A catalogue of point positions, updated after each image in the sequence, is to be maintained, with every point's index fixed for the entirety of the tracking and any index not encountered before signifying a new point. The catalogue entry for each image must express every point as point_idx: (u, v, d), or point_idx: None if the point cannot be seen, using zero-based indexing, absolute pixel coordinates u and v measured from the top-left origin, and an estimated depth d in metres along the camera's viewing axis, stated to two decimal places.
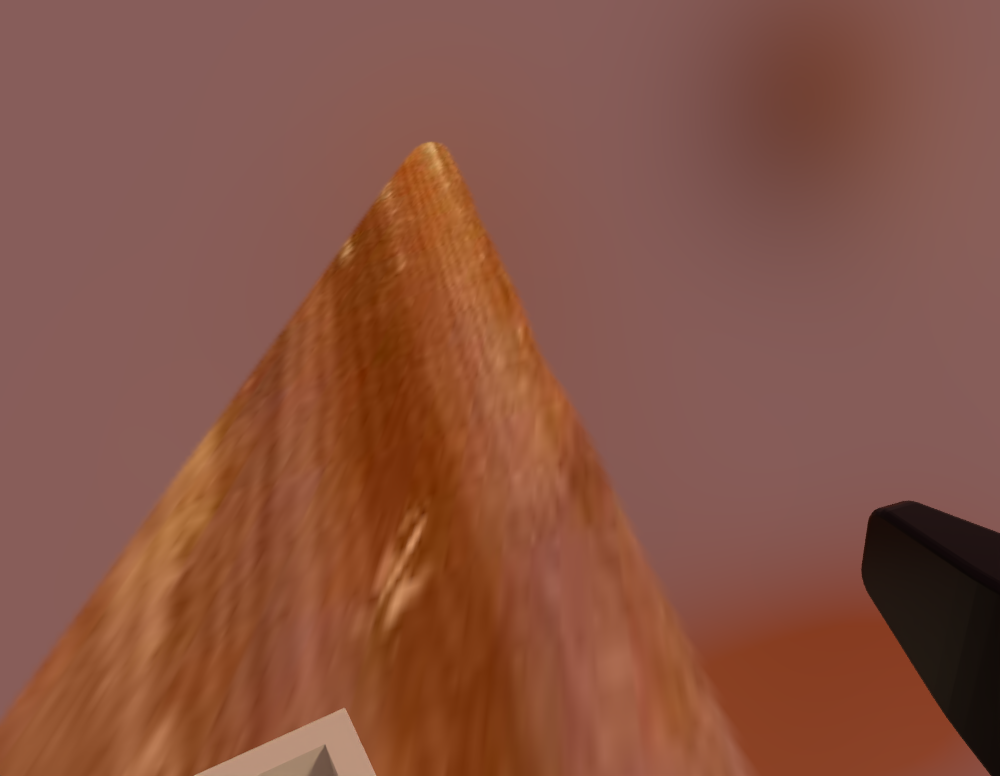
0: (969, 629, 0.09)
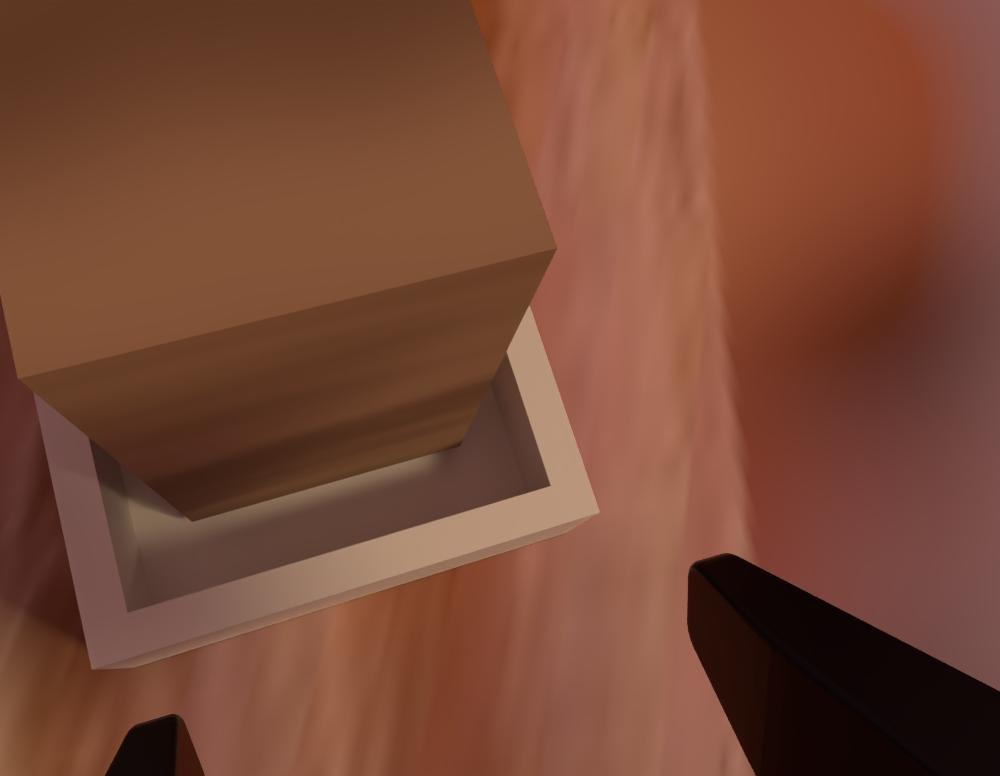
0: (768, 695, 0.08)
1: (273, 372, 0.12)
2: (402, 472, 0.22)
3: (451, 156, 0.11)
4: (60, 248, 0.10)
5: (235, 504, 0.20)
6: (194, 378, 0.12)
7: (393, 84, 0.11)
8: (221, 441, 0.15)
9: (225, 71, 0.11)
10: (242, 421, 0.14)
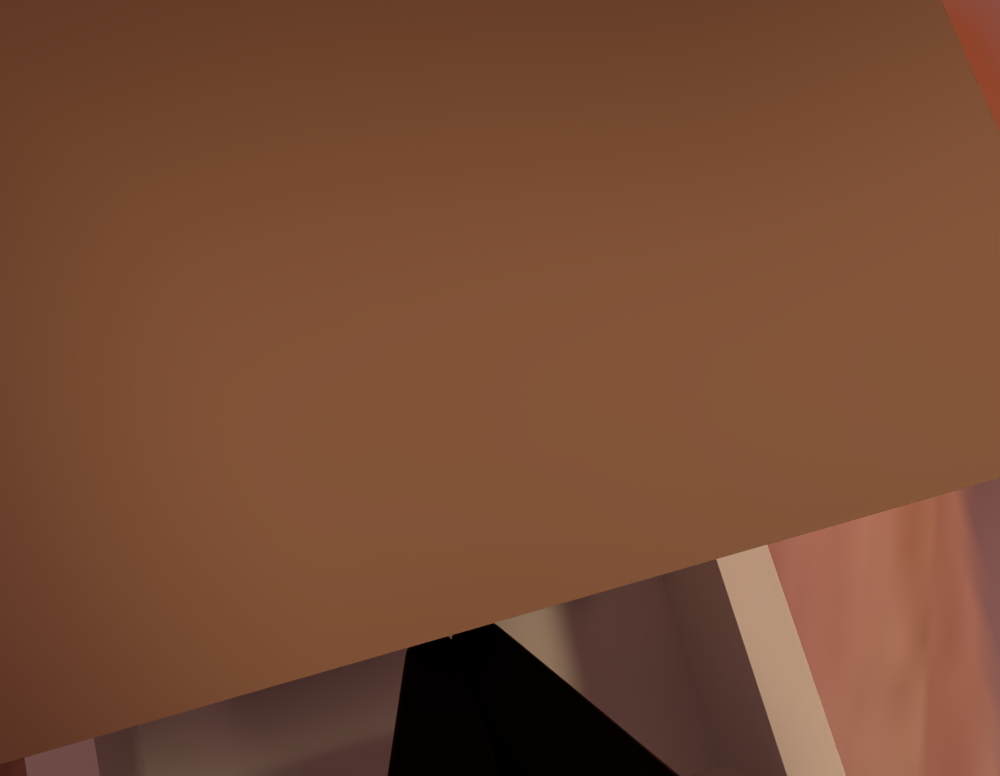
0: None
1: None
2: None
3: (884, 216, 0.05)
4: None
5: None
6: None
7: (748, 49, 0.05)
8: None
9: (379, 6, 0.05)
10: None
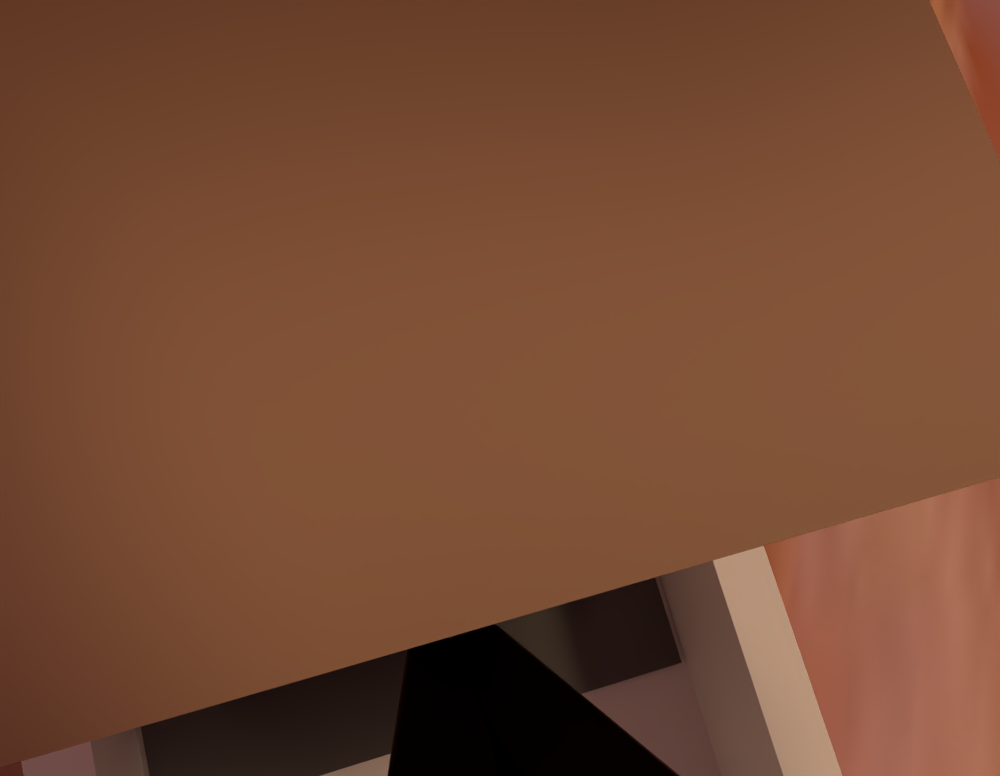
0: None
1: None
2: None
3: (872, 219, 0.05)
4: None
5: None
6: None
7: (737, 53, 0.05)
8: None
9: (370, 12, 0.05)
10: None
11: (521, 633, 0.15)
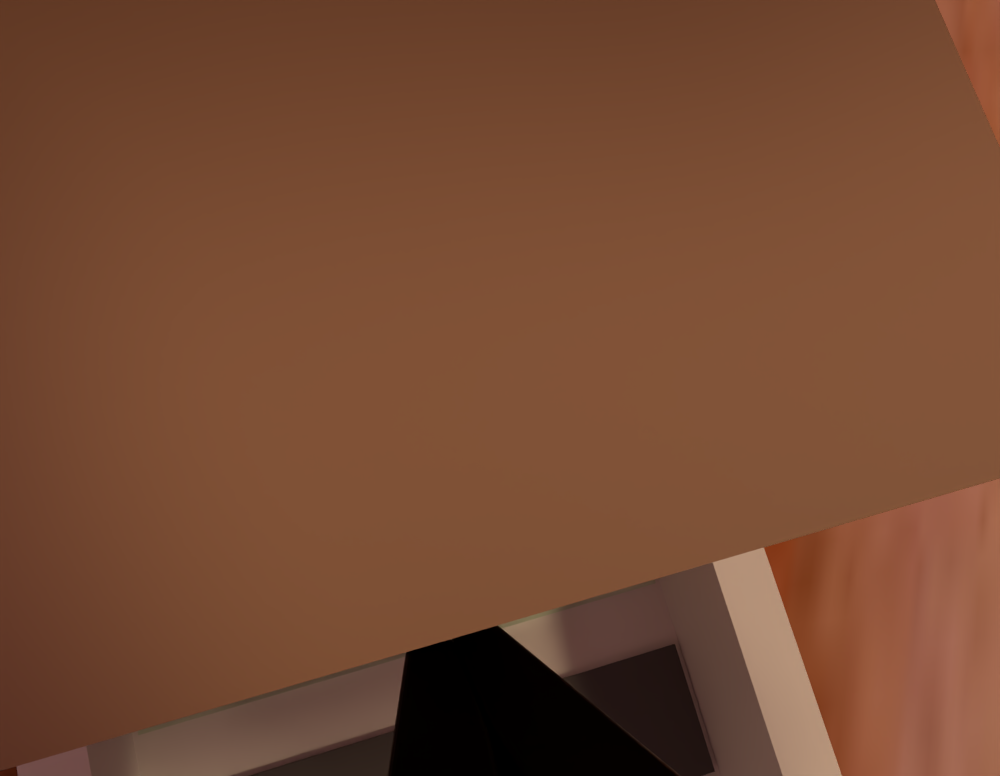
0: None
1: None
2: None
3: (876, 215, 0.05)
4: None
5: None
6: None
7: (737, 45, 0.05)
8: None
9: (361, 2, 0.05)
10: None
11: None
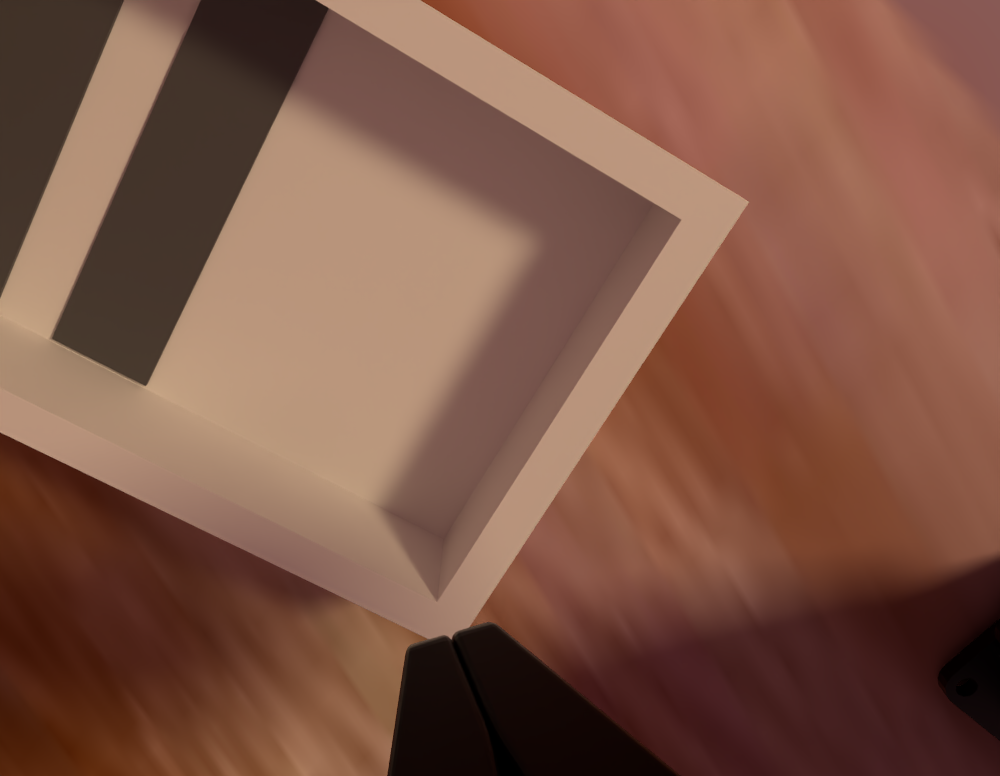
0: None
1: None
2: (519, 273, 0.19)
3: None
4: None
5: None
6: None
7: None
8: None
9: None
10: None
11: (212, 95, 0.17)
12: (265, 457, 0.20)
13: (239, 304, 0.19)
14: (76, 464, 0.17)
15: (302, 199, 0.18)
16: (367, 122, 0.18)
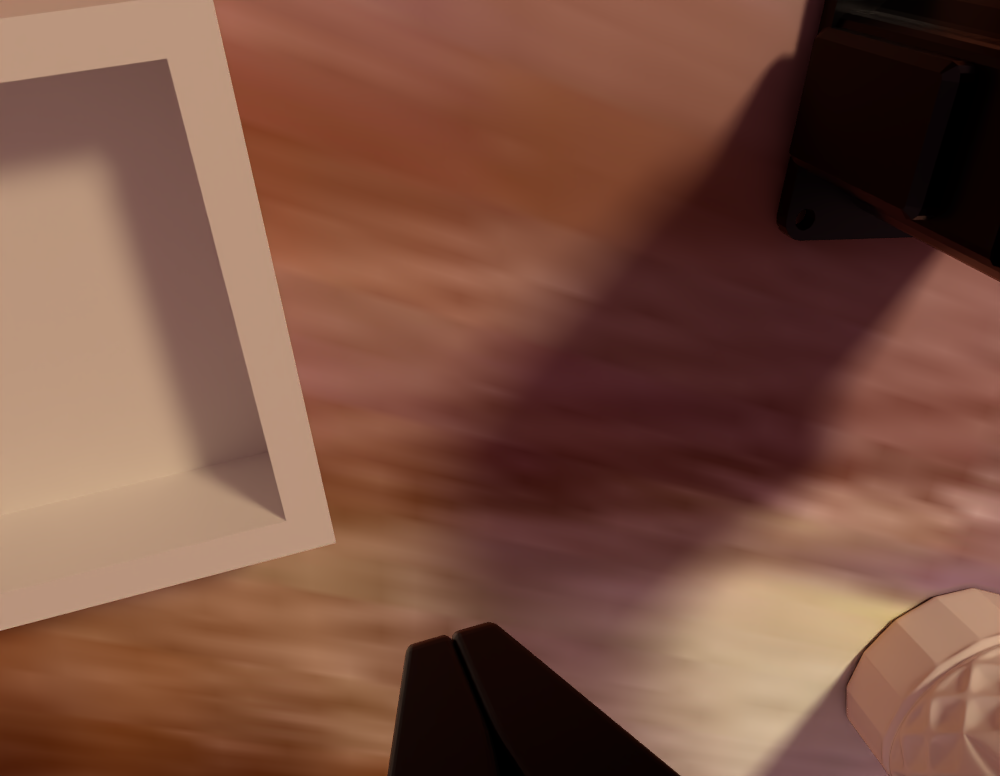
0: None
1: None
2: (115, 197, 0.17)
3: None
4: None
5: None
6: None
7: None
8: None
9: None
10: None
11: None
12: (64, 509, 0.19)
13: None
14: None
15: None
16: None
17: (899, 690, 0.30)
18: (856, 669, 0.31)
